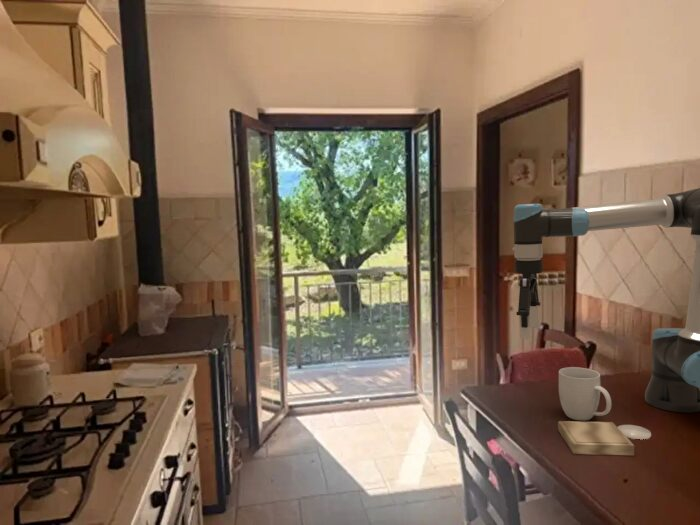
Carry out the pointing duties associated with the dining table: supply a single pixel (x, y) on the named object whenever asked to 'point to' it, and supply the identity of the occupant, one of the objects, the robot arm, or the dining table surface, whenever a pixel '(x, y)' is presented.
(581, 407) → the mug
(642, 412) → the dining table surface
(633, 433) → the white oval dome
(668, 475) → the dining table surface
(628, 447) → the base
